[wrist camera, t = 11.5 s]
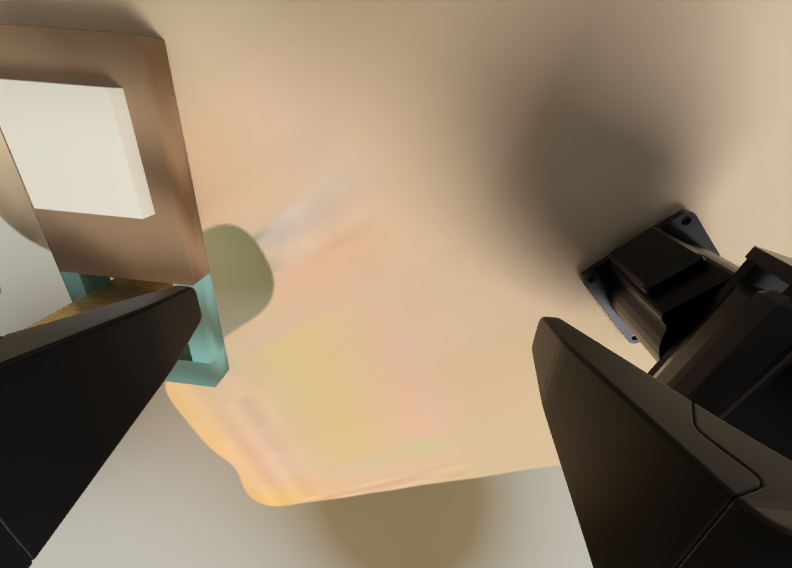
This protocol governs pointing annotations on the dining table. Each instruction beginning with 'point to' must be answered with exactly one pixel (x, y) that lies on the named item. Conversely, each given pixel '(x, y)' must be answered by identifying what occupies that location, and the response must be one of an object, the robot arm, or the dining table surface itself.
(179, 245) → the divided tray
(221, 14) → the dining table surface
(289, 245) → the dining table surface
